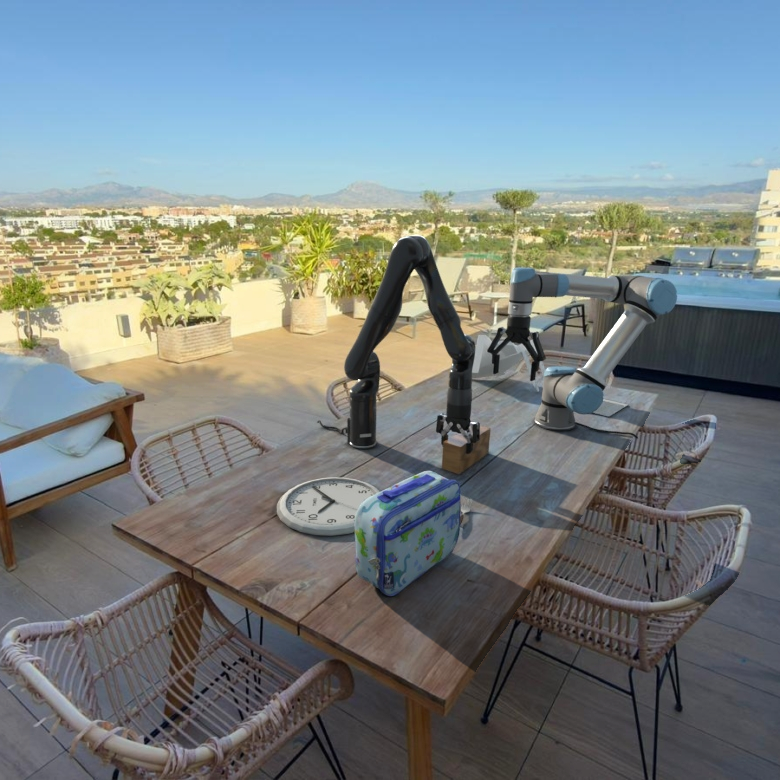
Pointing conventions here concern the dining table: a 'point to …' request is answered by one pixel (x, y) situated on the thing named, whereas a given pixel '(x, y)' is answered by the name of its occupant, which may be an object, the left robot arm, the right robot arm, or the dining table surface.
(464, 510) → the fork
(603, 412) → the invitation card
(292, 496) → the wall clock
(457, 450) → the box
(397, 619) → the dining table surface
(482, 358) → the white plastic object
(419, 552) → the lunch box
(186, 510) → the dining table surface
